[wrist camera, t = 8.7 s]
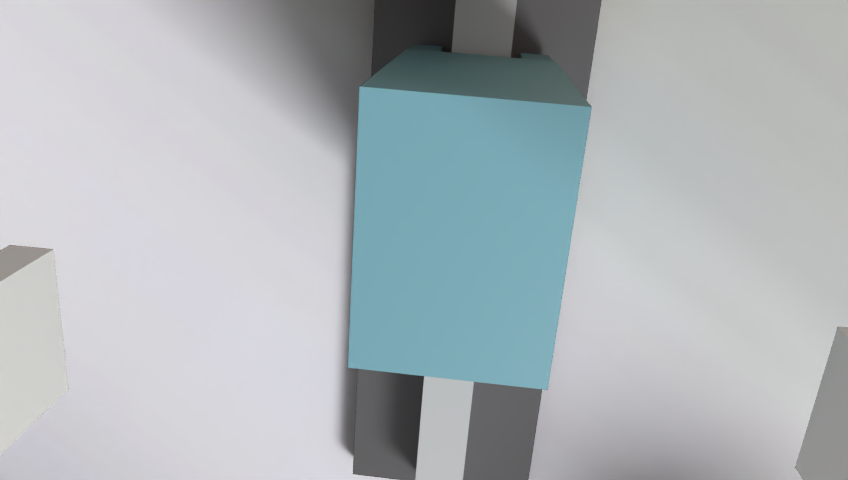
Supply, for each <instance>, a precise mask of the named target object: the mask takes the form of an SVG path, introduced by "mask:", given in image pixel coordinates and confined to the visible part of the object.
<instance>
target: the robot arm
mask: <svg viewBox="0 0 848 480" xmlns="http://www.w3.org/2000/svg"><path fill="white" fill-rule="evenodd" d="M68 389H69V387H68V378H67V369H66V359H65V350H64V341H63V332H62V323H61V314H60V305H59V296H58V287H57V277H56V268H55V259H54V250H53V249H46V248H36V247H26V246H16V245H9V246H7V247H5V248H4V249H2V250H0V455H2V454H3V453H4V452H5V451H6V450H7V449H8V448H9V447H10V446H11V445H12V444H13V443H14V442H15V441H16V440H17V439H18V438H19V437H20V436H21V435H22V434H23V433H24V432H25V431H26V430H27V429H28V428H29V427H30V426H31V425H32V424H33V423H34V422H35V421H36V420H38V419H39V418H40V417H41V416H42V415H43V414H44V413H45V412H46V411H47V410H48V409H49V408H50V407H51V406H52V405H53V404H54V403H55V402H56V401H57V400H58V399H59V398H60V397H61V396H62V395H63V394H64V393H65V392H66V391H67V390H68ZM795 468H796V470H797V471H798V473H799V474H800V476H801V477H802V479H803V480H848V328H847V327H837V331H836V334H835V337H834V341H833V344H832V347H831V351H830V354H829V357H828V361H827V364H826V367H825V370H824V374H823V377H822V380H821V384H820V387H819V390H818V394H817V397H816V400H815V404H814V407H813V410H812V413H811V417H810V420H809V423H808V427H807V430H806V433H805V437H804V440H803V443H802V447H801V450H800V453H799V456H798V460H797V463H796V466H795Z"/></svg>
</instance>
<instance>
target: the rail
mask: <svg viewBox="0 0 848 480" xmlns="http://www.w3.org/2000/svg"><path fill="white" fill-rule="evenodd" d="M600 7H601V0H375V11H374V32H373V53H372V75H371V77H372V76H373V75H374V74H376V73H377V72H378V71H379V70H381V69H382V68H383V67H384V66H386V65H387V64H388V63H389V62H391V61H392V60H393V59H394V58H396V57H397V56H398V55H399V54H401V53H402V52H403V51H404V50H406V49H410V48H411V47H413V46H414V45H415V44H422V45H434V46H443V52H451V53H463V54H474V55H486V56H498V57H510V58H520V55H521V53H529V54H541V55H549V56H550V58H551V59H552V60H553V61H556V62H557V63H558V64H559V66H560V67H561V68H562V70H563V71H564V72H565V73H566V75H567V76H568V77H569V79H570V80H571V81H572V82H573V84H574V85H575V86H576V88H577V89H578V90H579V91H580V93H581V94H582V95H583V97H584V98H585V99H587V92H588V85H589V79H590V72H591V66H592V59H593V53H594V46H595V40H596V33H597V27H598V20H599V13H600ZM541 393H542V389H534V388H525V387H516V386H507V385H499V384H490V383H481V382H472V381H463V380H454V379H445V378H436V377H427V376H418V375H409V374H401V373H392V372H383V371H374V370H365V369H358V376H357V397H356V418H355V440H354V461H353V474H356V475H365V476H373V477H381V478H389V479H398V480H528V478H529V472H530V465H531V459H532V452H533V446H534V439H535V433H536V426H537V419H538V413H539V406H540V400H541Z"/></svg>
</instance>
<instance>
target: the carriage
mask: <svg viewBox="0 0 848 480" xmlns="http://www.w3.org/2000/svg"><path fill="white" fill-rule="evenodd" d="M590 114H591V106H590V104H589V103H588V102H587V101H586V99H585V98H584V97H583V95H582V94H581V93H580V91H579V90H578V89H577V88H576V86H575V85H574V84H573V82H572V81H571V80H570V79H569V77H568V76H567V75H566V73H565V72H564V71H563V70H562V68H561V67H560V66H559V64H558V63H557V62H556V61H553V60H552V59H551V58H550V56H549V55H541V54H529V53H521V55H520V58H510V57H498V56H486V55H474V54H463V53H451V52H443V46H434V45H422V44H415V45H414V46H413V47H411V48H410V49H406V50H404V51H403V52H402V53H401V54H399V55H398V56H397V57H396V58H394V59H393V60H392V61H391V62H389V63H388V64H387V65H386V66H384V67H383V68H382V69H381V70H379V71H378V72H377V73H376V74H374V75H373V76H372V77H371V78H369V79H368V80H367V81H366V82H364V83H363V84H362V85H361V86H360V87H359V110H358V134H357V158H356V183H355V207H354V232H353V256H352V281H351V305H350V329H349V354H348V368H356V369H365V370H374V371H383V372H392V373H401V374H409V375H418V376H427V377H436V378H445V379H454V380H463V381H472V382H481V383H490V384H499V385H507V386H516V387H525V388H534V389H543V390H548V383H549V377H550V371H551V364H552V358H553V351H554V345H555V338H556V332H557V326H558V319H559V313H560V306H561V300H562V294H563V287H564V281H565V274H566V268H567V261H568V255H569V249H570V242H571V236H572V229H573V223H574V217H575V210H576V204H577V197H578V191H579V184H580V178H581V172H582V165H583V159H584V152H585V146H586V140H587V133H588V127H589V120H590Z"/></svg>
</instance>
